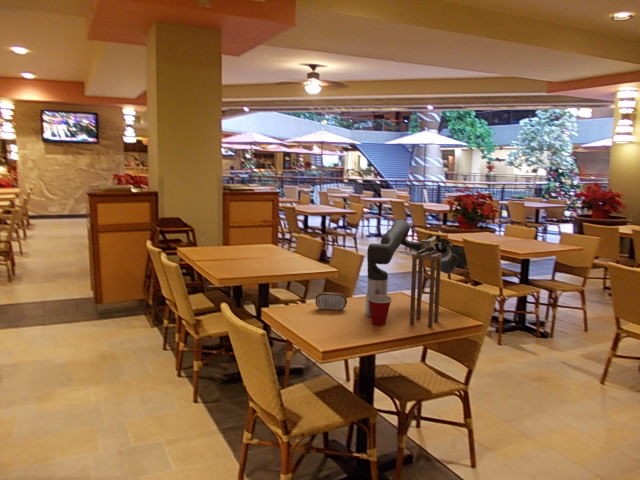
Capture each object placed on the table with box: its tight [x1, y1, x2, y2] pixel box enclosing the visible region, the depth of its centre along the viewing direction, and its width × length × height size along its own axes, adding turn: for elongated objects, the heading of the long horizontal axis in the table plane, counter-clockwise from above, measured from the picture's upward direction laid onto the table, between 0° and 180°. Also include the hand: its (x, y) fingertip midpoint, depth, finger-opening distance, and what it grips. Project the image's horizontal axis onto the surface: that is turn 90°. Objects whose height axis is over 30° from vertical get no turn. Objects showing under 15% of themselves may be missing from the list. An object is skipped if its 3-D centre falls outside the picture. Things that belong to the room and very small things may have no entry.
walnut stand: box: [409, 249, 442, 328], centre depth 232 cm, size 10×10×32 cm
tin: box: [315, 291, 348, 312], centre depth 252 cm, size 15×3×8 cm, turn 84°
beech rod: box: [420, 235, 438, 249], centre depth 233 cm, size 3×18×3 cm, turn 151°
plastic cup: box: [367, 294, 393, 327], centre depth 230 cm, size 11×11×12 cm
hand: (433, 236), depth 237 cm, fingers closed on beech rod, 2 cm apart
